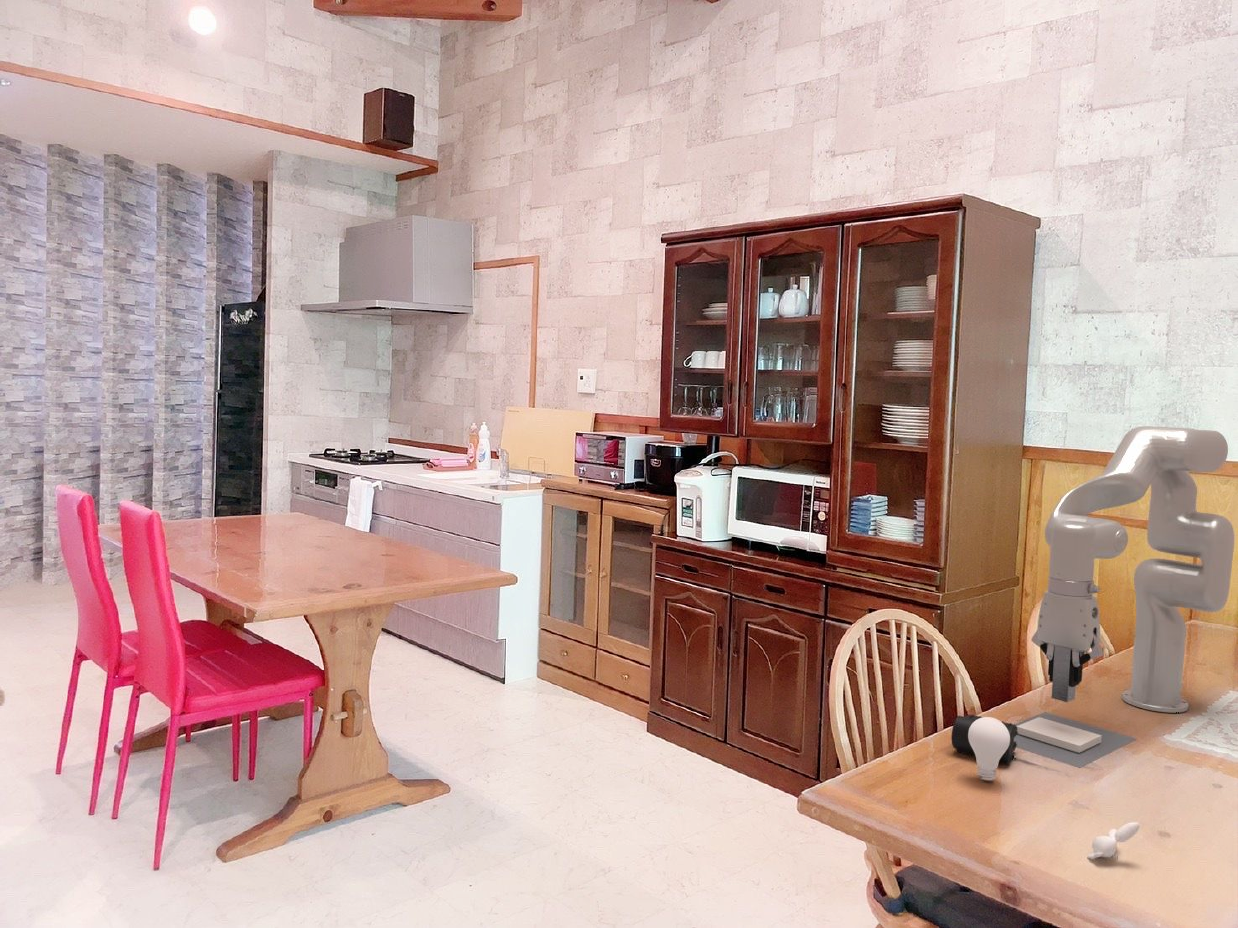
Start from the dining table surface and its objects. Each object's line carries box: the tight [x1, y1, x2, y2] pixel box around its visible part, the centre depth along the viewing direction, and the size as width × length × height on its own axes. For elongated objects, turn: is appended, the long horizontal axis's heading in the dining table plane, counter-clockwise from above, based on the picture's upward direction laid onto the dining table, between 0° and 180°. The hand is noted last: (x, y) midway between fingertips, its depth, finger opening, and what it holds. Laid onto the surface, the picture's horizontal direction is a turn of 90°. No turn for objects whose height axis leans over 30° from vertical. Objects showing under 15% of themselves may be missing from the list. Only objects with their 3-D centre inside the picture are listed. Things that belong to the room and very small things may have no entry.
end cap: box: [951, 713, 1018, 765], centre depth 172 cm, size 10×7×7 cm
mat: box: [1014, 711, 1138, 769], centre depth 180 cm, size 24×18×1 cm
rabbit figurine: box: [1087, 821, 1140, 860], centre depth 135 cm, size 6×4×8 cm
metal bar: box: [1051, 646, 1077, 703], centre depth 179 cm, size 3×3×12 cm
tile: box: [1017, 717, 1102, 753], centre depth 179 cm, size 2×12×9 cm
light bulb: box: [968, 716, 1010, 783], centre depth 161 cm, size 7×7×11 cm
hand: (1064, 681), depth 179 cm, fingers closed on metal bar, 3 cm apart
